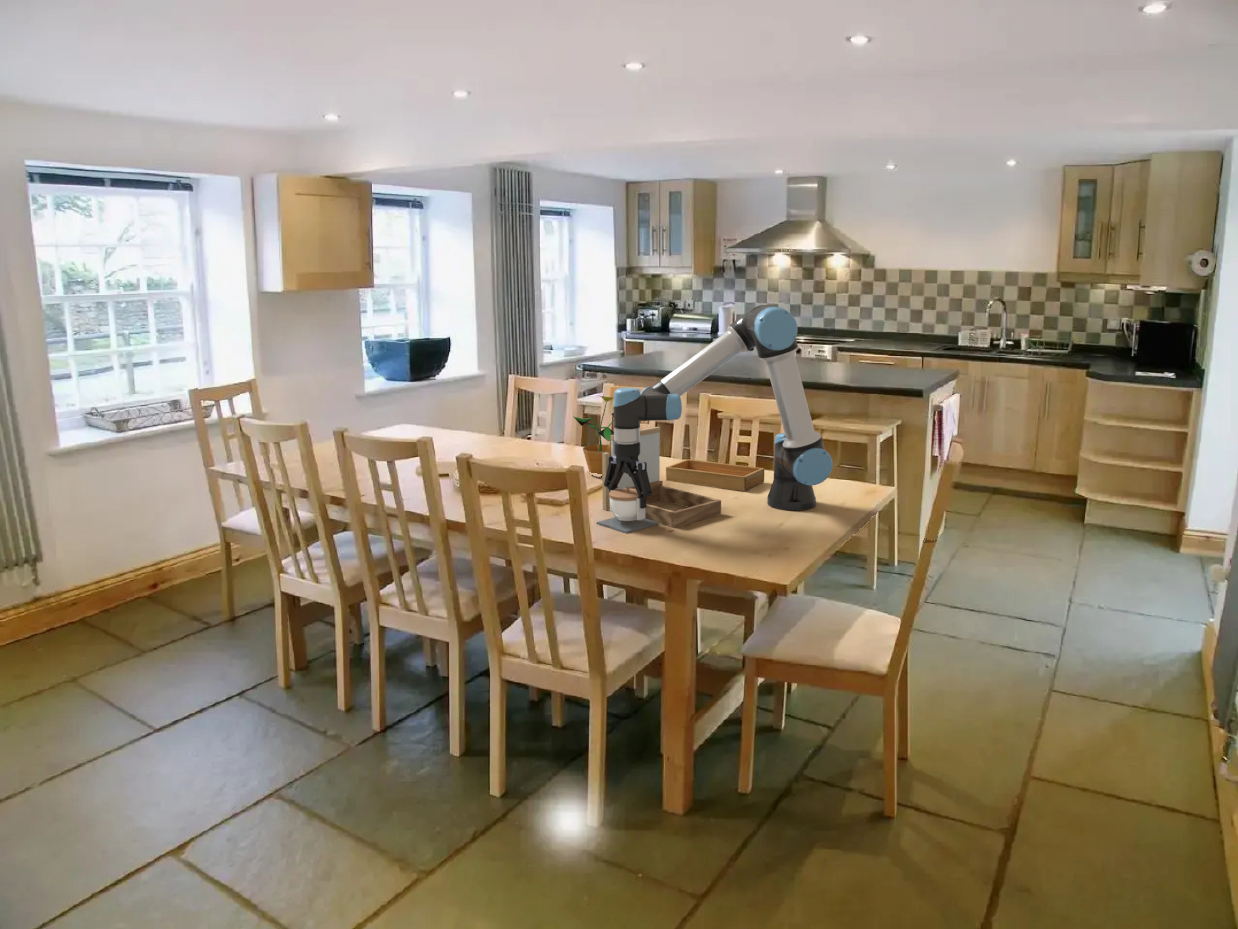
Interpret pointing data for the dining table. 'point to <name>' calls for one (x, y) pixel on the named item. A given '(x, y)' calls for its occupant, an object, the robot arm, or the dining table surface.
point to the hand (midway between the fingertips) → (627, 514)
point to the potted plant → (595, 451)
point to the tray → (715, 474)
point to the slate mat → (627, 524)
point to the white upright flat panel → (647, 454)
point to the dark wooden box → (697, 504)
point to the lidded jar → (624, 503)
